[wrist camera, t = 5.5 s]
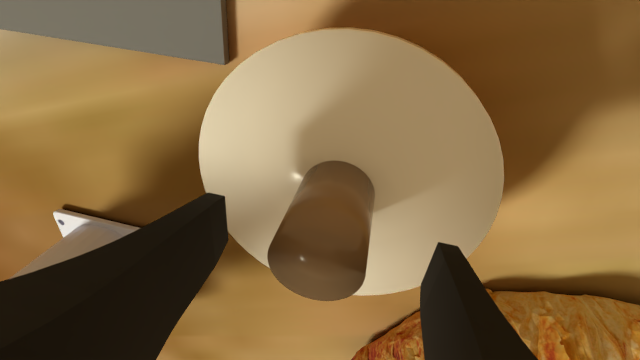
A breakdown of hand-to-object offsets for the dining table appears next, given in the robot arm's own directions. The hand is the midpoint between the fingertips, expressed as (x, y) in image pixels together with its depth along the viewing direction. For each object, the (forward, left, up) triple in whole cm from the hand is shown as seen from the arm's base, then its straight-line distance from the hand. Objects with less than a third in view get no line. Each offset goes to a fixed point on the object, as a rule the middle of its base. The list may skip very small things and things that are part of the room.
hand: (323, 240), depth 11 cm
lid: (0, 0, -3) cm, 3 cm away
